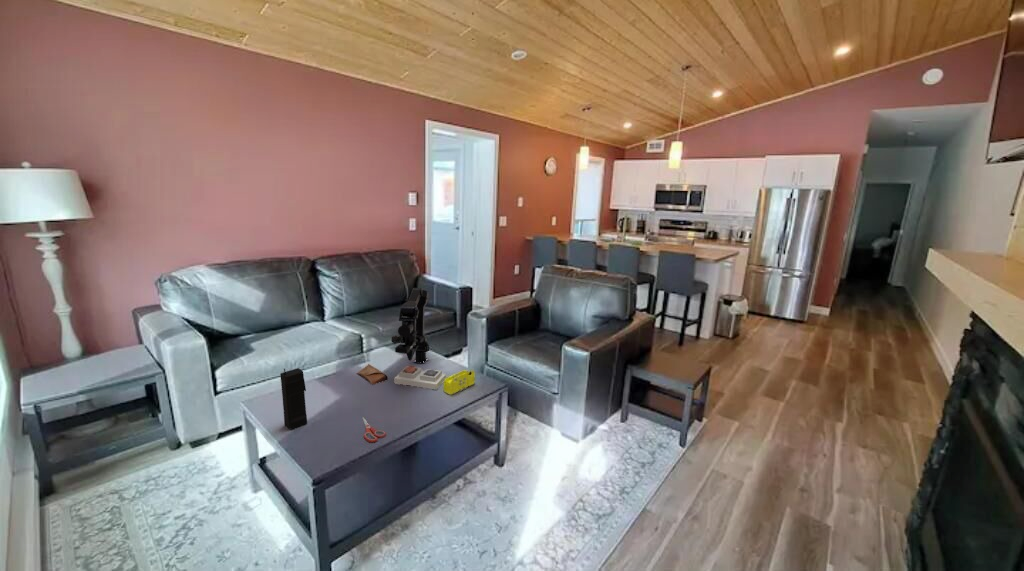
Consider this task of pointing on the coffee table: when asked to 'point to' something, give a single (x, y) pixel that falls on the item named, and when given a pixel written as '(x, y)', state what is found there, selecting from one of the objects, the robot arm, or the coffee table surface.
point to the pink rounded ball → (410, 369)
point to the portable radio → (293, 398)
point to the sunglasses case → (372, 374)
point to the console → (420, 378)
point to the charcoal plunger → (431, 373)
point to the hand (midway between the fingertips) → (410, 360)
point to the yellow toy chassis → (458, 381)
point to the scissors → (372, 432)
